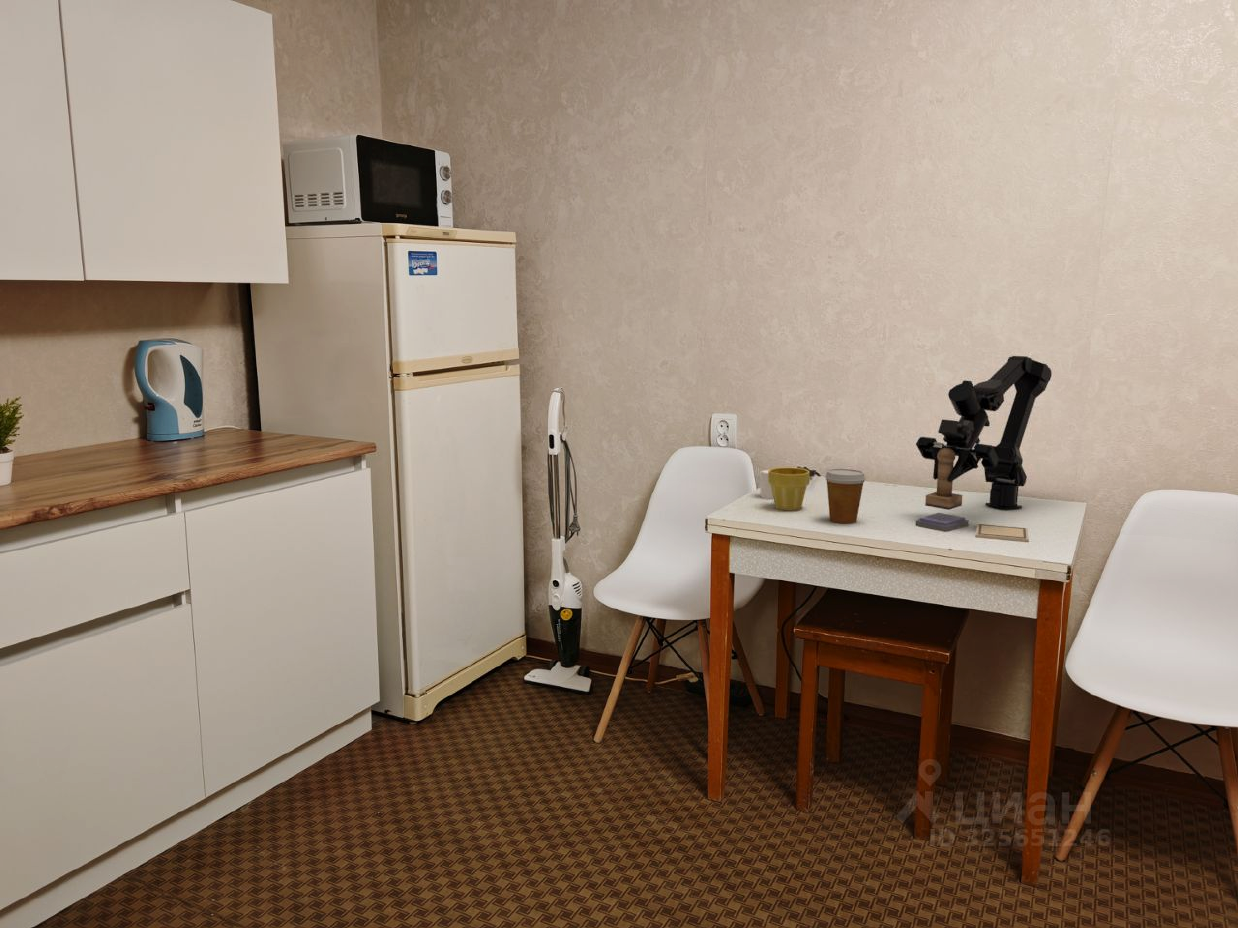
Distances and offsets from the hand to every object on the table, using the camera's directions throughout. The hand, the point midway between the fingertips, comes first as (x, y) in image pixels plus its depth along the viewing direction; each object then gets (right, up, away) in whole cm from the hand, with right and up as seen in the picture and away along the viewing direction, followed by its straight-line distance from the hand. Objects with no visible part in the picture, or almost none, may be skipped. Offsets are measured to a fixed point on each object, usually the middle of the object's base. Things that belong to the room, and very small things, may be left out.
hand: (941, 479), depth 220 cm
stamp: (+1, -6, +2) cm, 7 cm away
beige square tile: (+12, -12, -5) cm, 18 cm away
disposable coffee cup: (-22, -10, +7) cm, 25 cm away
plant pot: (-32, -8, +20) cm, 39 cm away
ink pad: (+1, -11, +3) cm, 11 cm away
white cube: (-35, -5, +34) cm, 48 cm away
